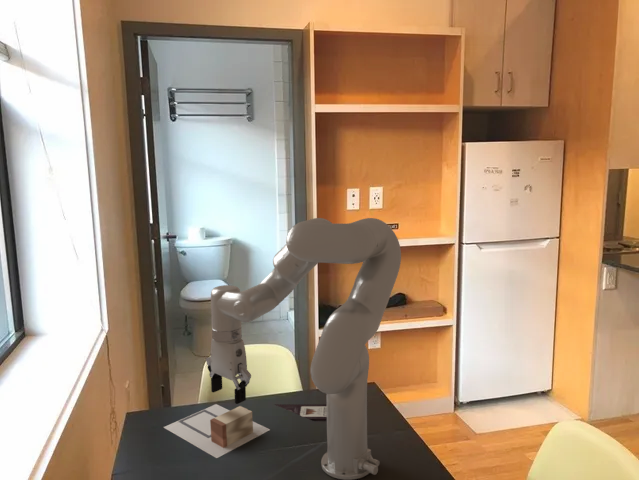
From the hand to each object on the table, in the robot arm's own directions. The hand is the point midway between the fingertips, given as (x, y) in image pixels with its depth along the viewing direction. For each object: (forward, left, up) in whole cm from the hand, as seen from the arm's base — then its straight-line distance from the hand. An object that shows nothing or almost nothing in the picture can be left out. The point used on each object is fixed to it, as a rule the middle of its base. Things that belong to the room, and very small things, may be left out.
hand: (228, 396), depth 137 cm
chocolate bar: (-5, -22, -13) cm, 26 cm away
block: (-1, 0, -11) cm, 11 cm away
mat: (+6, 0, -12) cm, 14 cm away
